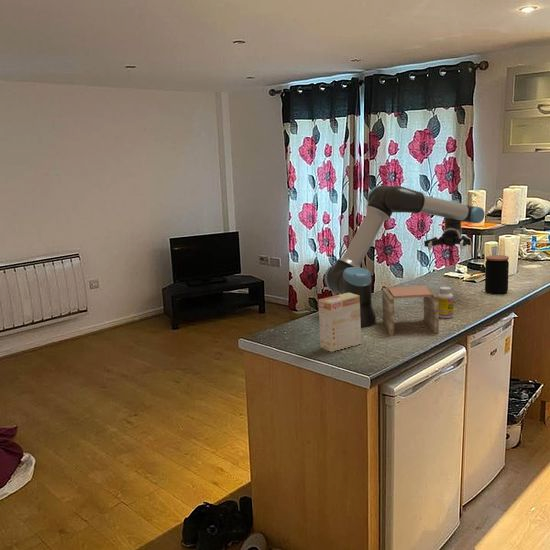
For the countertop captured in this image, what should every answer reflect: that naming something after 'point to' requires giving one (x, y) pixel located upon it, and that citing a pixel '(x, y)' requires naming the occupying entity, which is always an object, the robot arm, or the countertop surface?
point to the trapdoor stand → (429, 311)
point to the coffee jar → (496, 274)
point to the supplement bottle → (445, 302)
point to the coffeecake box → (340, 321)
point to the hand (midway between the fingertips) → (444, 246)
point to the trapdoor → (409, 292)
